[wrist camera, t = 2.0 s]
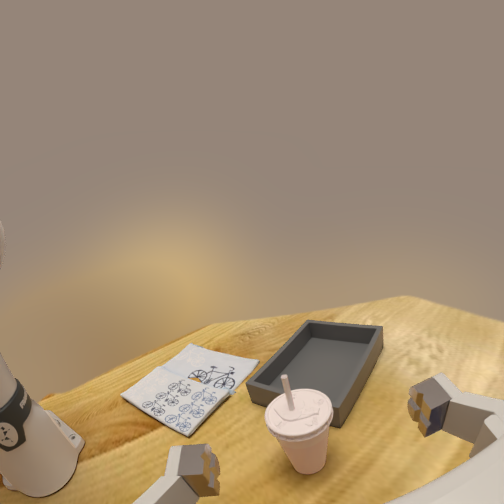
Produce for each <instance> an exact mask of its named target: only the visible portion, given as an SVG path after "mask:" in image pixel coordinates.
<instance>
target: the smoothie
mask: <svg viewBox="0 0 504 504" xmlns="http://www.w3.org/2000/svg"><path fill="white" fill-rule="evenodd" d="M281 380H282V384H283V388H284V392H285V393H283V394H281V395H280V396H278V397H277V398H275V399H274V400H273V401H272V402H271V403H270V404H269V405H268V407H267V409H266V411H265V421H266V426H267V428H268V430H269V432H270V433H271V434H272V435H273V436H274V437H276V438H277V440H278V442H279V443H280V445H281V447H282V448H283V450H284V452H285V453H286V455H287V457H288V458H289V460H290V462H291V463H292V465H293V467H294V468H295V470H296V471H297V472H299V473H301V474H313V473H316V472H318V471H320V470H321V469H322V468H323V467H324V465H325V462H326V454H327V444H328V433H329V425H330V423H331V421H332V419H333V408H332V404H331V401H330V399H329V398H328V397H327V396H326V395H325V394H324V393H322V392H320V391H317V390H313V389H296V390H292V391H291V389H290V385H289V381H288V377H287V375H282V376H281Z"/></svg>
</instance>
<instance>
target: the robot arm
mask: <svg viewBox="0 0 504 504" xmlns="http://www.w3.org/2000/svg"><path fill="white" fill-rule="evenodd" d="M5 248H6V242H5V233H4V229H3V226H2V223H1V220H0V269H1V266H2V264H3V260H4V256H5ZM409 395H410V396H411V398H410V399H409V401H408V411H409V414H410V416H411V418H412V420H413V421H416V422H419V424H418V429H419V430H420V431H421V433H422V434H423V436H424V437H427V436H429V435H431V434H433V433H435V432H437V431H439V430H441V429H442V430H443V431H445V432H448V433H450V434H452V435H454V436H457V437H459V438H461V439H464V440H466V441H469V442H471V443H473V444H474V445H473V448H472V450H471V452H470V454H469V457H470V459H469V460H467V461H466V462H464V463H462V464H461V465H459V466H458V467H456V468H454V469H453V470H451V471H449V472H448V473H446V474H444V475H442V476H441V477H439V478H437V479H435V480H433V481H431V482H429V483H428V484H426V485H424V486H422V487H420V488H418V489H416V490H413V491H411V492H409V493H407V494H405V495H403V496H400V497H398V498H396V499H394V500H391V501H389V502H386V503H384V504H504V400H500V399H496V398H491V397H486V396H482V395H477V394H473V393H469V392H463V393H462V392H461V391H460V390H459V389H458V388H457V387H456V386H455V385H454V384H453V383H452V382H451V381H450V380H449V379H448V378H447V377H446V376H445V375H444V374H443V373H439V374H437V375H435V376H433V377H431V378H428V379H426V380H424V381H422V382H420V383H418V384H416V385H414V386H412V387H411V388H410V389H409ZM84 443H85V441H84V439H83V438H82V437H81V436H80V435H78V434H77V433H76V432H75V431H73V430H72V429H71V428H70V427H69V426H68V425H66V424H65V423H64V422H63V421H62V420H61V419H59V418H58V417H57V416H56V415H55V414H54V413H53V412H52V411H50V410H44V409H43V408H42V407H41V406H40V405H39V404H38V403H37V402H35V401H34V400H33V399H31V398H30V397H29V395H28V394H27V392H26V390H25V388H24V387H23V386H22V385H21V384H20V382H19V381H18V380H17V379H16V378H14V376H13V375H12V373H11V371H10V370H9V368H8V366H7V364H6V362H5V361H4V359H3V357H2V355H1V353H0V473H1V474H2V475H3V484H4V485H5V486H6V487H7V488H8V489H10V490H18V491H20V492H22V493H24V494H26V495H28V496H32V497H43V496H47V495H50V494H52V493H54V492H56V491H57V490H59V489H60V488H62V487H63V486H64V485H65V484H66V483H67V482H68V480H69V479H70V478H71V476H72V474H73V473H74V470H75V468H76V464H77V458H78V454H79V452H80V451H81V449H82V448H83V446H84ZM219 475H220V466H219V462H218V459H217V457H216V455H215V454H213V453H211V447H210V446H209V444H197V445H183V446H172V447H171V448H170V450H169V455H168V460H167V465H166V470H165V475H164V476H161V477H160V478H159V479H158V480H157V481H156V482H155V483H154V484H153V485H152V486H151V487H150V488H149V489H148V490H146V491H145V492H144V493H143V494H142V495H141V496H140V497H139V498H138V499H137V500H136V501H135V502H134V503H132V504H196V502H197V501H198V500H199V497H208V496H218V495H219V492H220V483H219V481H218V480H217V477H218V476H219Z"/></svg>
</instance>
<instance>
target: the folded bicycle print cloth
mask: <svg viewBox="0 0 504 504" xmlns="http://www.w3.org/2000/svg"><path fill="white" fill-rule="evenodd" d="M259 362H260V361H259V360H256V359H247V358H242V357H237V356H233V355H229V354H224V353H220V352H215V351H211V350H208V349H204V348H203V347H200V346H197V345H194V344H192V343H190V344H188V345H187V346H186V347H185V348H184V349H183V350H182V351H181V352H180V353H179V354H178V355H176V356H175V357H173V358H172V359H171V360H169V361H168V362H167V363H165V364H164V365H163V366H158V367H156V368H155V369H154V370H153V371H152V372H150V373H149V374H148V375H146V376H145V377H144V378H142V379H141V380H140V381H139V382H138V383H136V384H135V385H134V386H132V387H130V388H129V389H128V390H127V391H125V392H123V393H121V394H120V395H121V396H122V397H123V398H124V399H126V400H127V401H128V402H130V403H131V404H133V405H134V406H136V407H137V408H139V409H141V410H142V411H144V412H145V413H147V414H149V415H150V416H152V417H153V418H155V419H157V420H158V421H160V422H162V423H163V424H165V425H167V426H168V427H170V428H172V429H174V430H175V431H177V432H179V433H181V434H183V435H185V436H187V437H188V436H190V435H191V434H192V433H193V432H194V431H195V430H196V429H197V428H198V426H199V425H200V424H201V423H202V422H203V421H204V420H205V419H206V418H207V417H208V416H209V415H210V414H211V413H212V412H213V411H214V410H215V409H216V408H217V407H218V406H219V405H220V404H221V403H222V402H223V401H224V400H225V399H226V398H227V397H228V396H229V395H233V394H234V393H236V392H235V391H234V390H235V389H236V388H237V387H238V386H239V385H240V384H241V383H242V382H243V381H244V380H245V378H246V377H247V376H248V375H249V374H250V373H251V372H252V371H253V370H254V369H255V368H256V366H257V365H258V364H259ZM194 377H196V378H199V380H201V383H199V382H196V381H194V380H191V379H188V378H194Z"/></svg>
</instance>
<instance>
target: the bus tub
mask: <svg viewBox="0 0 504 504" xmlns="http://www.w3.org/2000/svg"><path fill="white" fill-rule="evenodd" d="M382 348H383V326H372V325H359V324H346V323H335V322H324V321H314V320H307V321H306V322H305V323H304V324H303V325H302V326H301V327H300V328H299V329H298V330H297V331H296V332H295V333H294V335H293V336H292V337H291V338H290V339H289V340H288V341H287V342H286V343H285V344H284V345H283V346H282V347H281V348H280V349H279V350H278V351H277V352H276V353H275V354H274V355H273V356H272V357H271V358H270V359H269V360H268V361H267V362H266V363H265V364H264V365H263V366H262V367H261V368H260V369H259V370H258V371H257V372H256V373H255V374H254V375H253V376H252V377H251V378H250V379H249V380H248V381H247V382H246V386H247V389H248V392H249V395H250V398H251V401H252V403H255V404H258V405H261V406H264V407H268V405H269V404H270V403H271V402H272V401H273V400H274V399H275V398H277V397H278V396H280V395H281V394H283V393H285V392H284V388H283V384H282V380H281V376H282V375H287V377H288V381H289V385H290V389H291V391H292V390H296V389H313V390H317V391H320V392H322V393H324V394H325V395H326V396H327V397H328V398H329V399H330V401H331V404H332V408H333V419H332V421H331V423H330V425H329V426H333V427H337V428H341V427H342V425H343V423H344V422H345V420H346V418H347V416H348V415H349V413H350V411H351V409H352V408H353V406H354V404H355V402H356V400H357V399H358V397H359V395H360V393H361V391H362V389H363V387H364V385H365V384H366V382H367V380H368V378H369V376H370V374H371V372H372V370H373V367H374V365H375V363H376V361H377V359H378V357H379V355H380V353H381V350H382Z"/></svg>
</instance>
